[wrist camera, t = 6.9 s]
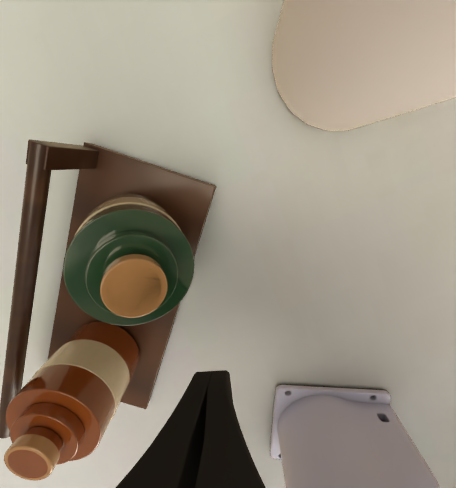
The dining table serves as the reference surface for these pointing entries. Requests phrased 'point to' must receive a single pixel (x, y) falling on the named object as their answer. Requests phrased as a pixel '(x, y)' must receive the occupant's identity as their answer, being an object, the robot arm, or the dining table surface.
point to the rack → (31, 229)
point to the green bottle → (128, 262)
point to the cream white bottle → (363, 59)
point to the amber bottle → (70, 400)
